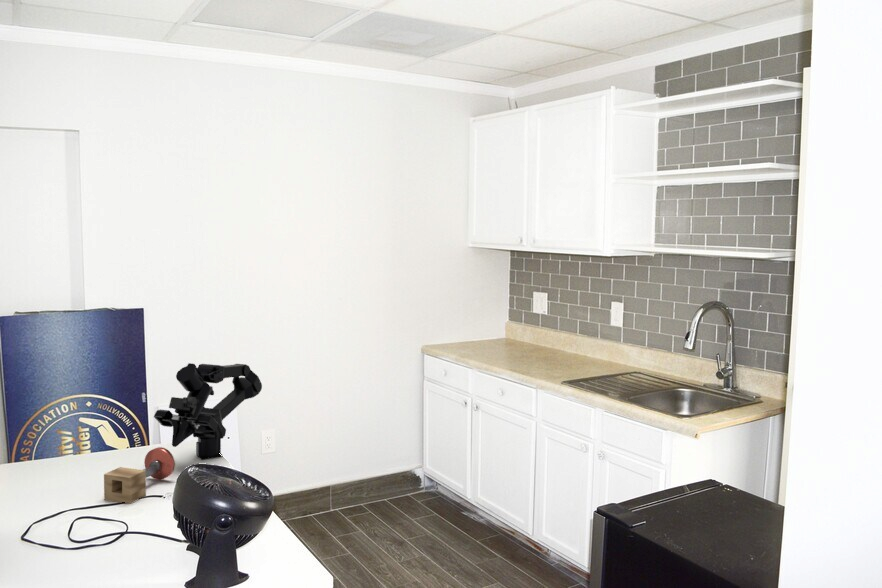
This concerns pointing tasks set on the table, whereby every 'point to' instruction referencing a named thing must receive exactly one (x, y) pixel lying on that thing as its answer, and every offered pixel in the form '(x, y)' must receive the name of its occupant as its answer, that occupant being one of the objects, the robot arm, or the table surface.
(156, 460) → the copper disc handle
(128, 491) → the tan block
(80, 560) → the table surface
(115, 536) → the table surface
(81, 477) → the table surface
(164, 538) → the table surface
